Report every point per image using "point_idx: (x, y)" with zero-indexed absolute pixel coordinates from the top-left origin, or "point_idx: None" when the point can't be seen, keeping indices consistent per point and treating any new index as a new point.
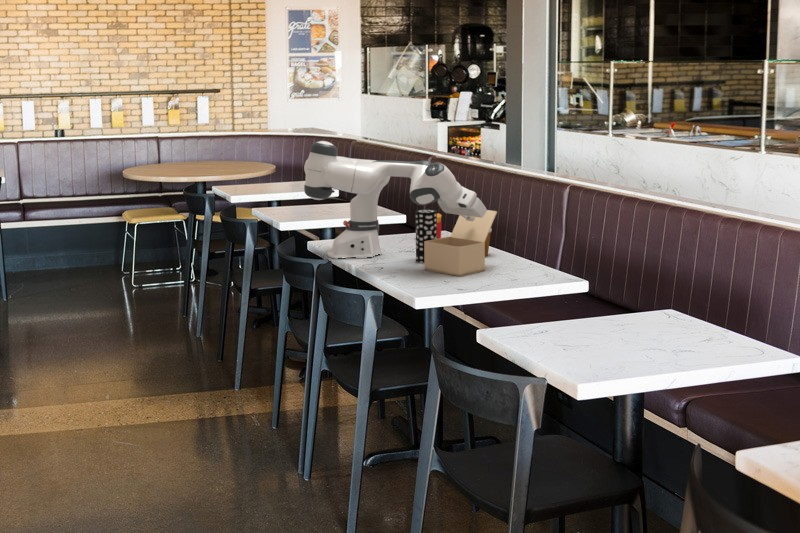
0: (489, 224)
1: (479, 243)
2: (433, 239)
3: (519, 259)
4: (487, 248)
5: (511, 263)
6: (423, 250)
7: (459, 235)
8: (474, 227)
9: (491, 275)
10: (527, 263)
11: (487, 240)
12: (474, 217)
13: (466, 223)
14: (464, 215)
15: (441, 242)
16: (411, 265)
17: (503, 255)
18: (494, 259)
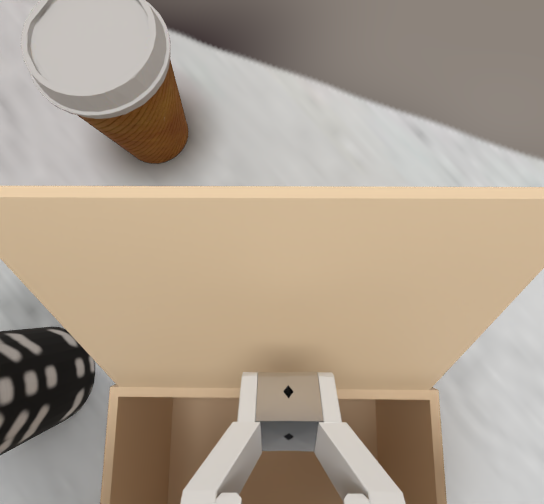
0: (476, 318)
1: (441, 449)
2: (8, 411)
3: (323, 91)
4: (182, 109)
5: (353, 168)
6: (19, 444)
7: (191, 380)
8: (303, 343)
9: (461, 411)
10: (397, 128)
11: (175, 89)
12: (335, 385)
13: (190, 329)
14: (236, 486)
15: (124, 472)
16: (51, 499)
17: (226, 73)
18: (250, 153)
